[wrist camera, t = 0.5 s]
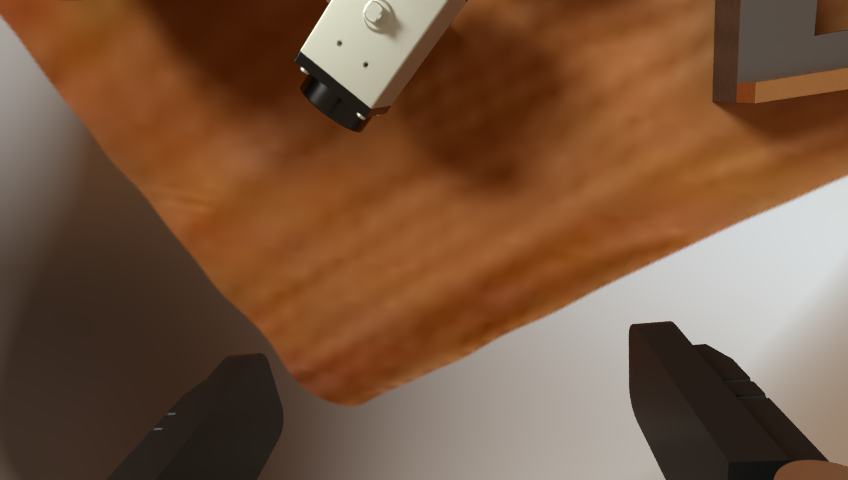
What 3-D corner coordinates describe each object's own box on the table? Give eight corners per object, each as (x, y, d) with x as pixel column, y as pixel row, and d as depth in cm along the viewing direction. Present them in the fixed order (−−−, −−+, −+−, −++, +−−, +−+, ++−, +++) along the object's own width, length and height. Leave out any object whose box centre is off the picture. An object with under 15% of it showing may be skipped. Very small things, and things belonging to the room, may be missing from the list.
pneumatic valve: (486, -11, 31) (493, -70, 20) (386, 125, 35) (343, 142, 23) (423, -67, 30) (394, -161, 19) (328, 78, 34) (255, 71, 23)
